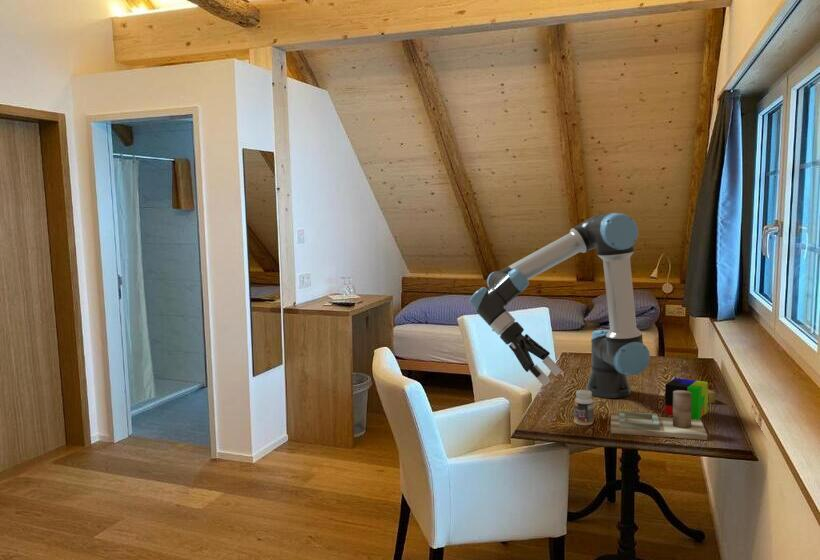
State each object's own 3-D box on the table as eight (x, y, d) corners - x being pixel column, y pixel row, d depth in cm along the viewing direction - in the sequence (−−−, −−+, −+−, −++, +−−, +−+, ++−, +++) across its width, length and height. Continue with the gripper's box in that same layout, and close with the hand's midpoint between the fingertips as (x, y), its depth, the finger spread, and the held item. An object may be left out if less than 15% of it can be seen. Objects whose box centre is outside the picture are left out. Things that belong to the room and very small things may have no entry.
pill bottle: (570, 423, 199) (570, 391, 198) (580, 418, 203) (580, 388, 202) (587, 427, 195) (587, 395, 194) (596, 422, 199) (596, 391, 198)
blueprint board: (610, 418, 202) (611, 383, 201) (700, 424, 194) (701, 387, 193) (610, 433, 189) (610, 394, 188) (707, 440, 181) (707, 400, 180)
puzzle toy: (675, 407, 213) (675, 377, 212) (707, 412, 206) (707, 382, 205) (665, 414, 205) (665, 384, 204) (698, 420, 199) (698, 388, 198)
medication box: (687, 394, 228) (687, 383, 227) (694, 394, 228) (694, 382, 228) (708, 404, 216) (708, 392, 215) (715, 403, 216) (715, 391, 216)
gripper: (512, 329, 220) (555, 377, 214) (486, 342, 198) (533, 395, 192) (527, 315, 217) (571, 362, 211) (502, 326, 195) (551, 380, 189)
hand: (553, 378), depth 202 cm, fingers open, 13 cm apart
